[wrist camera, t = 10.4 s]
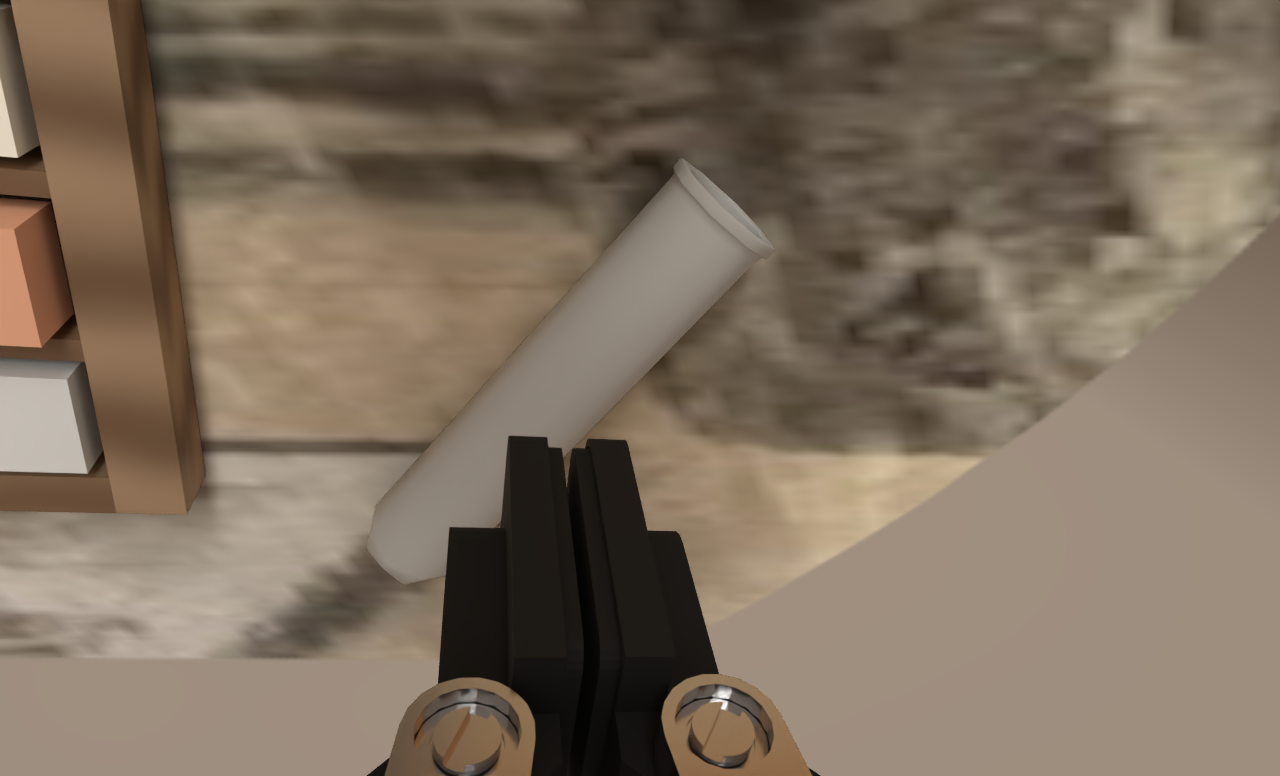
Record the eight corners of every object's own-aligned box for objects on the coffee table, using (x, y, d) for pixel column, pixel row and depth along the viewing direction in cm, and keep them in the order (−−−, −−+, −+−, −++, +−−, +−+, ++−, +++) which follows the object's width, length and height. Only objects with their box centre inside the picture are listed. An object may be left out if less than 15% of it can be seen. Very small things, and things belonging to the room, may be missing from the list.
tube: (444, 611, 44) (791, 265, 37) (354, 595, 41) (718, 206, 33) (424, 532, 48) (736, 201, 40) (339, 510, 44) (665, 141, 36)
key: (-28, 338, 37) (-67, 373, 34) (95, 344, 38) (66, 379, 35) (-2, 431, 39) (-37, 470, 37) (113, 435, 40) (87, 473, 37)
